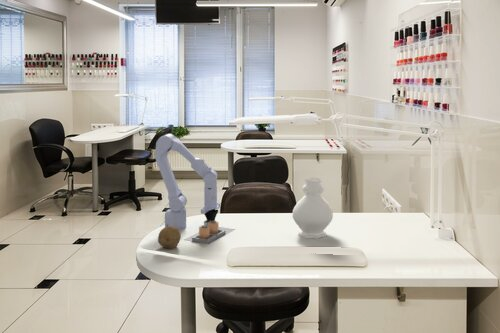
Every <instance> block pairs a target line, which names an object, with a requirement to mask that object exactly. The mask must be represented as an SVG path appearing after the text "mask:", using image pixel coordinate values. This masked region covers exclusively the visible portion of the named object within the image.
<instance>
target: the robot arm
mask: <svg viewBox="0 0 500 333" xmlns="http://www.w3.org/2000/svg"><path fill="white" fill-rule="evenodd" d="M154 150H155V151H154V159H155V161H156V164H157V166H158V168H159V172H160V175H161V177H162V179H163V182H164V185H165V187H166V191H167V198H168V206H169V209H167V210H166V211H165V213H164V228H165V227H167V226H174V227H176V228H177V229H178V230H182V229H186V228H187V209H186V205H187V202H188V200H187V197H186V196H185V195H184V194H183V192H182V190H181V188H179V185H178V183H177V180H176V178H175V175H174V172H173V169H172V166H171V163H170V162H169V158H168V155H169V153H170V151H172V152H177V153H179V154H180V155H181V156H182V157H183V158H185V159H186V160H187V161H188V162H189V163H190V165H191V166H190V168H192V170H194V172H195V173H197V174H198V175H199V176H200V177H201V178H202V181H203V182H204V187H203V190H204V194H203V195H204V197H203V200H204V205H203V206H202V208H201V209H200V214H201V215H204V217H205V218H206V220H211V221H216V217H217V214H218V213H219V209H220V208H221V202H218V187H217V186H218V185H217V184H218V183H217V179H218V172H217V171H216V170H215V169H213V168H212V167H211V166H209V165H208V164H207V163H206V162H205V159H204V158H201V157H196V156H195V155H194V154H193V153H192V152H191V151H190V150H189V149H188V148H187V147H186V145H184V143H182V141H181V140H180V139H179V138H177V137H176V136H175V135H174V134H173V133H166V134H164V135H162V136H160V137H159V138H158V139H157V140H156V143H155V149H154Z"/></svg>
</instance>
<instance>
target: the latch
mask: <svg viewBox="0 0 500 333" xmlns="http://www.w3.org/2000/svg"><path fill="white" fill-rule="evenodd" d="M208 222H211V220H207V219H206V220H204V221H203V225H207V226H208Z"/></svg>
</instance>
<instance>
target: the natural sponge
mask: <svg viewBox="0 0 500 333" xmlns="http://www.w3.org/2000/svg"><path fill="white" fill-rule="evenodd" d="M180 240H181V232H180V229H177V228H176V227H174V226H167V227H165V226H164V227H163V228H162V229H161V230H160V232H159V233H158V236H157V242H158V244H159V245H160V246H161V247H163V248H165V249H168V250H169V249H171V250H172V249H175V248H176V247H178V245H179V242H180Z"/></svg>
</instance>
